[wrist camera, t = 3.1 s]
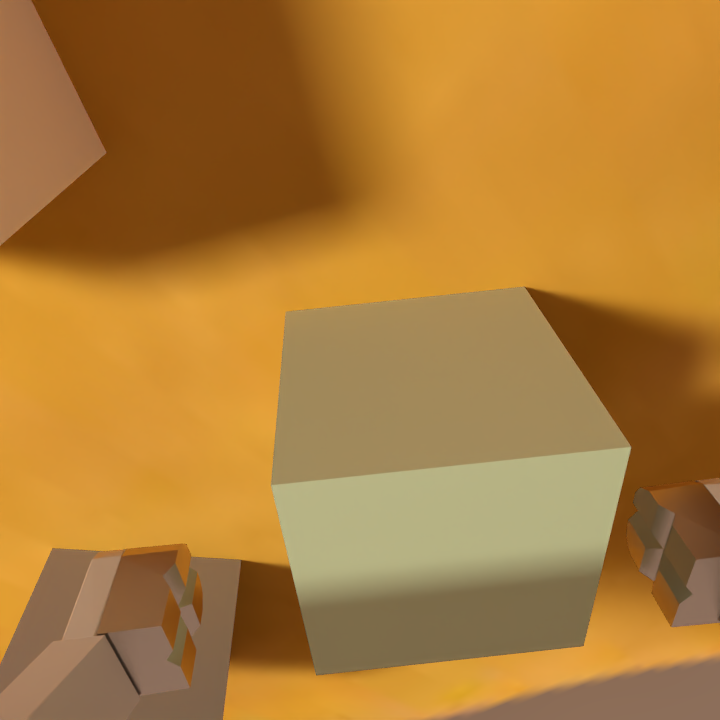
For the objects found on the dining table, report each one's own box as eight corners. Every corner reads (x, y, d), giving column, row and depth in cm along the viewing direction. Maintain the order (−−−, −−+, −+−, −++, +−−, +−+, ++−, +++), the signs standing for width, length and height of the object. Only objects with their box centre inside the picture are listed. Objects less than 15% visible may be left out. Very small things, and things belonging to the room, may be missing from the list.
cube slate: (241, 557, 16) (217, 755, 12) (230, 655, 19) (207, 843, 15) (53, 546, 16) (-40, 754, 11) (69, 648, 18) (-2, 847, 14)
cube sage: (523, 285, 12) (632, 446, 8) (509, 459, 15) (583, 645, 11) (286, 309, 12) (271, 485, 8) (315, 479, 15) (316, 675, 11)
